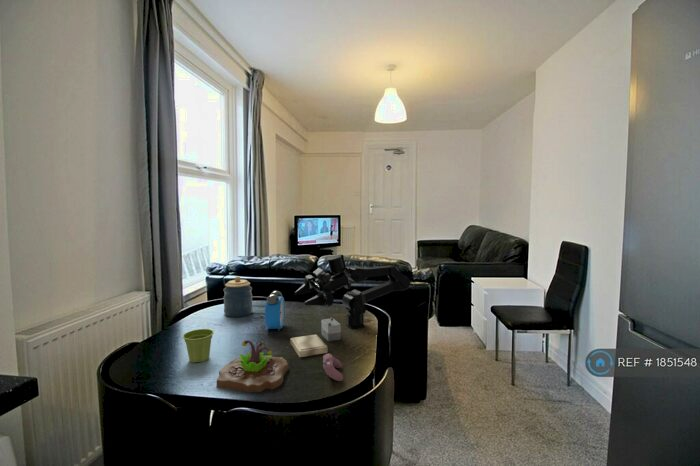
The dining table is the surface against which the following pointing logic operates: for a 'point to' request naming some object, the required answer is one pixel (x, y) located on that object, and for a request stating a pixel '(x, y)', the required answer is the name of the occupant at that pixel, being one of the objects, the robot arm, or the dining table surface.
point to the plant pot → (198, 344)
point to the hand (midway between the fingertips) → (299, 298)
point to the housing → (331, 329)
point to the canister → (237, 298)
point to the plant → (253, 371)
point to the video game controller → (332, 367)
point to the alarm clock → (274, 311)
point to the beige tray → (308, 345)
